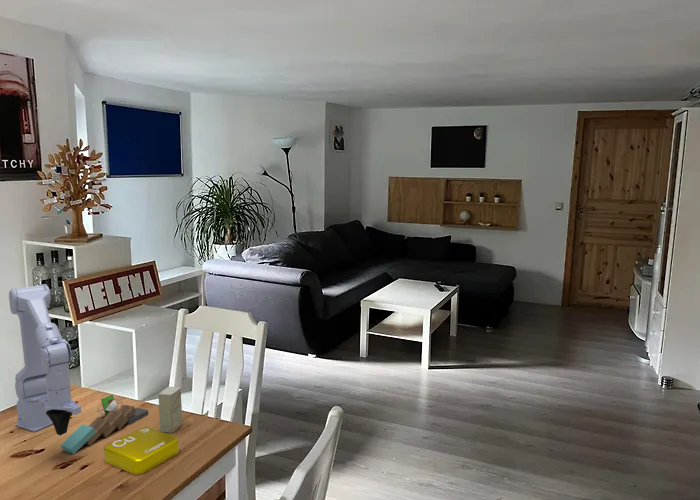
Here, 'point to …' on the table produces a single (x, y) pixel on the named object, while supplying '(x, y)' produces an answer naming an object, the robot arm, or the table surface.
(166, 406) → the skincare box
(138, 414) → the black end domino
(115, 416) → the walnut domino
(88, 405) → the table surface
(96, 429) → the walnut domino
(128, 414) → the walnut domino
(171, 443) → the element tile
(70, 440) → the teal domino
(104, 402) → the geometric puzzle
